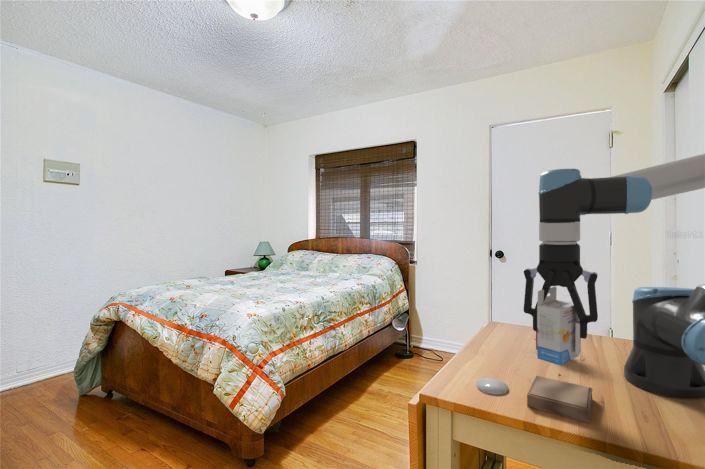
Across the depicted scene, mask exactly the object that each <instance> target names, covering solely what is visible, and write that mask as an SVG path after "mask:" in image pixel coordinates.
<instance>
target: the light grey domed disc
mask: <svg viewBox="0 0 705 469" xmlns="http://www.w3.org/2000/svg"><path fill="white" fill-rule="evenodd" d="M475 386H476V388H477V389H478V390H479V391H480V392H483V393H484V394H488V395H493V396H494V395H495V396H499V395H501V396H502V395H505V394H506V393H508V392H509V387H508V385H507V383H506V382H504V381H502V380H500V379H497V378H492V377H491V378H490V377H484V378H479V379H478V380H476V384H475Z"/></svg>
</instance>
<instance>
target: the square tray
mask: <svg viewBox="0 0 705 469" xmlns="http://www.w3.org/2000/svg"><path fill="white" fill-rule="evenodd" d="M526 401H527V403H526V404H527V405H526V406H527V407H529V408H532V409H536V410H540V411H544V412H548V413H551V414H555V415H558V416H561V417H562V416H563V417H565V418H570V419H572V420H577V421H580V422H584V423H588V424H590V422H591V420H590V419H591V410H592V402H593V388H592V387H591V386H586V385H580V384H576V383H572V382H567V381H561V380H559V379H558V380H557V379H553V378H549V377H545V376H540V375H535V377H534V380H533V382H532V384H531V386H530V388H529V390H528V392H527V395H526Z"/></svg>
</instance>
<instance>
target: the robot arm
mask: <svg viewBox="0 0 705 469" xmlns="http://www.w3.org/2000/svg"><path fill="white" fill-rule="evenodd" d="M538 184H539V186H538V204H539V205H538V206H539V207H538V209H539V211H538V212H539V224H538V238H539V239H538V240H539V241H540V242H542V243H540V244H539V245H538V248H539V249H538V254H539V255H538V259H539V260H538V264H537V266H536V267H533V268H529V267H528V268H527V267H526V268H525V269H524V270H523V275H524V278H525V286H524V301H523V302H524V303H523V312H524V314H528V315H530V316H531V317H532V329H533V330H532V331H534V332H536V331H537V305H538V300H537V301H536V304H535V306H534V308H533V297H534V285H535V284H534V283H535V278H536V276H537V273H538V275H539V276H540V277H541V278H542V279H543V281H544V283H543V285H542V288H541V290H544V301H545V298H546V297H547V296H549V295H548V294H549V293H548V292H549V289H550V288H552V287H557V286H558V287H562V288H566V289H567V291H568V293H569V296H570V299H571V302H572V303H573V304H574V307H575V310H576V312H577V315H578V318H579V320H576V327H575V354H577V355H579V356H580V354H581V349H582V346H581V345H582V340H581V339H585V340H586V338H587V337H588V324H589V323H597V321H598V317H599V315H598V302H597V294H596V292H597V291H596V283H597V279H598V276H599V275H598V273H597V272H596V271H588V270H584V269H583V268H582V265H581V245H580V244H579V243H578V242H580V241H581V216H586V215H609V214H610V215H613V214H614V215H615V214H625V215H628V214H638V213H642V212H644V211H646V210H647V209H648V208H649V206H650V204H651V202H652V201H653V200H657V199H661V198H662V199H663V198H666V197H671V196H675V195H679V194H685V193H689V192H693V191H697V190H702V189H705V153H702V154H697V155H694V156H690V157H686V158H682V159H678V160H675V161H670V162H665V163H662V164H661V163H660V164H656V165H653V166H650V167H646V168H641V169H637V170H633V171H630V172H625V173H621V174H617V175H612V176H608V177H597V178H596V177H594V178H593V177H592V178H588V177H587V178H585V177H582V175H581V171H580V169H577V168H558V169H550V170H546V171H544V172H542V173H541V175H540V176H539V183H538ZM580 276H583V280H584V282H585V283H587V297H588V298H587V300H588V308H589V309H588V312H589V314H586V311H585V309H584V305H583V303H582V300H581V298H580V295H579V293H578V290H577V286H576V284H575V282H576V281H577V280H578V279H579V278H580ZM631 303H632V334H633V335H632V338H633V340H632V341H633V342H632V344H633V346H632V348H631V350H630V353H629V355H628V357H627V359H626V361H625V364H624V365H623V366H624V368H623V377H624V378H625V379H626V380H627V382H629V383H630V384H632V385H634V386H636V387H638V388H641V389H642V390H645V391H648V392H652V393H654V394H658V395H662V396H666V397H671V398H677V399H683V400H701V399H702V400H703V399H705V369H704V366H705V284H704V283H703V284H698V285H697V286H696V287H695V288H687V287H670V286H669V287H665V286H661V287H660V286H640V287H637V288H635V289H634V290H633V297H632V302H631Z"/></svg>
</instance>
